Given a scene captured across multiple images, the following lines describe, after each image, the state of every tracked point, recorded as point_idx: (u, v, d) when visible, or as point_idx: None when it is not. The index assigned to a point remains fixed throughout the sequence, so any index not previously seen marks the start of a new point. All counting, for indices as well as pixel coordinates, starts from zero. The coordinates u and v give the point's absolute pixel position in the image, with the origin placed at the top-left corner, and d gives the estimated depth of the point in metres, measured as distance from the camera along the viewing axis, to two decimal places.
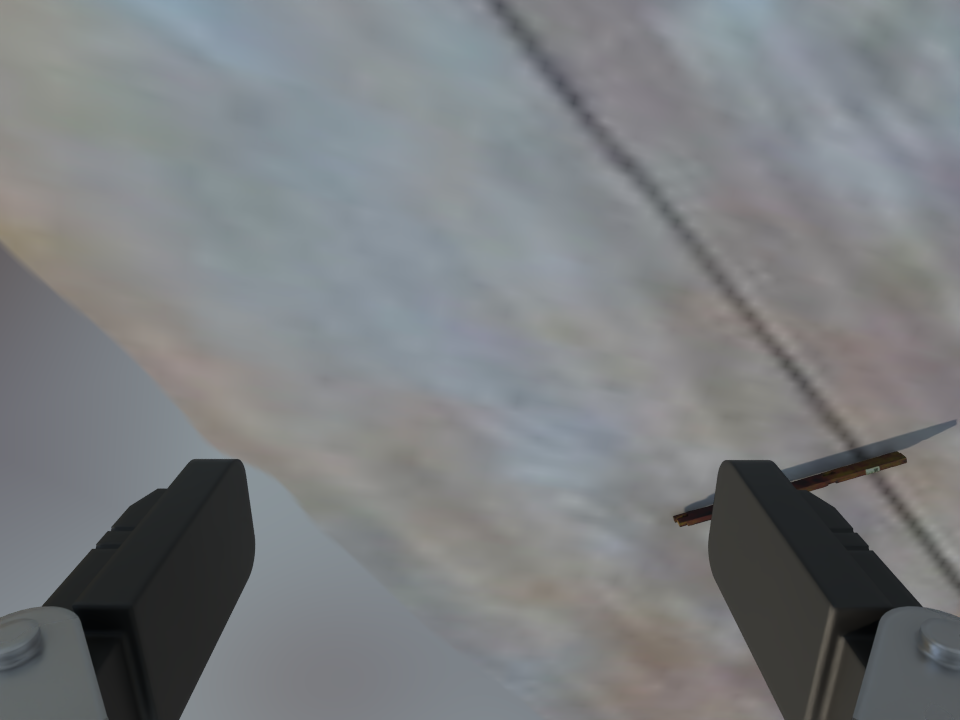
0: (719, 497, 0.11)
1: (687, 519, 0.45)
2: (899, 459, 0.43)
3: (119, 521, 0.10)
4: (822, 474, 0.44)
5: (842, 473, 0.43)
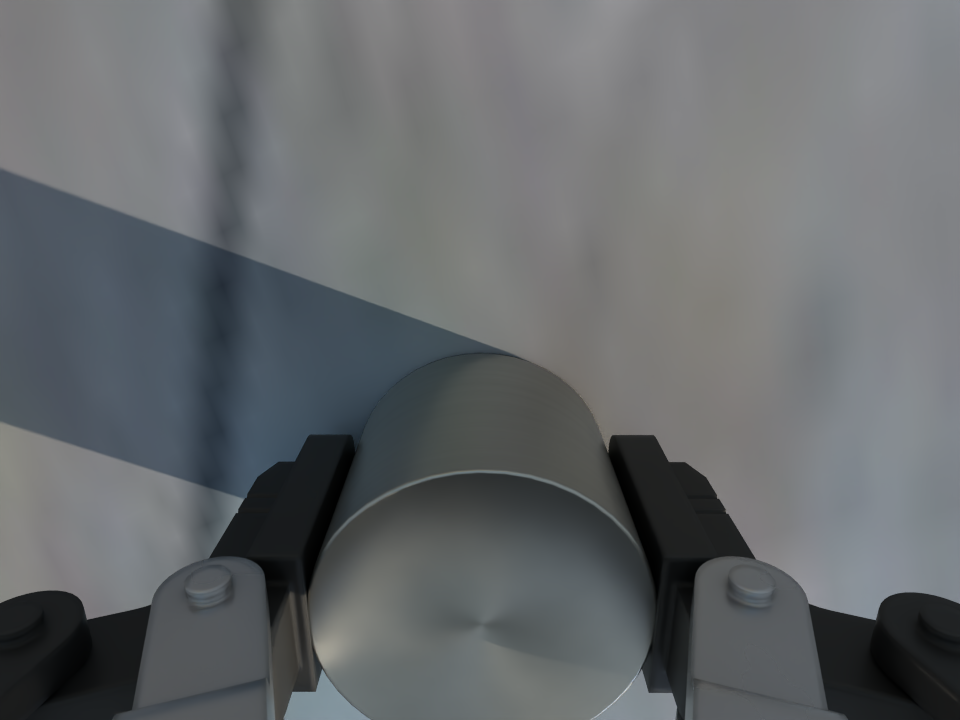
0: None
1: None
2: None
3: (253, 489, 0.10)
4: None
5: None
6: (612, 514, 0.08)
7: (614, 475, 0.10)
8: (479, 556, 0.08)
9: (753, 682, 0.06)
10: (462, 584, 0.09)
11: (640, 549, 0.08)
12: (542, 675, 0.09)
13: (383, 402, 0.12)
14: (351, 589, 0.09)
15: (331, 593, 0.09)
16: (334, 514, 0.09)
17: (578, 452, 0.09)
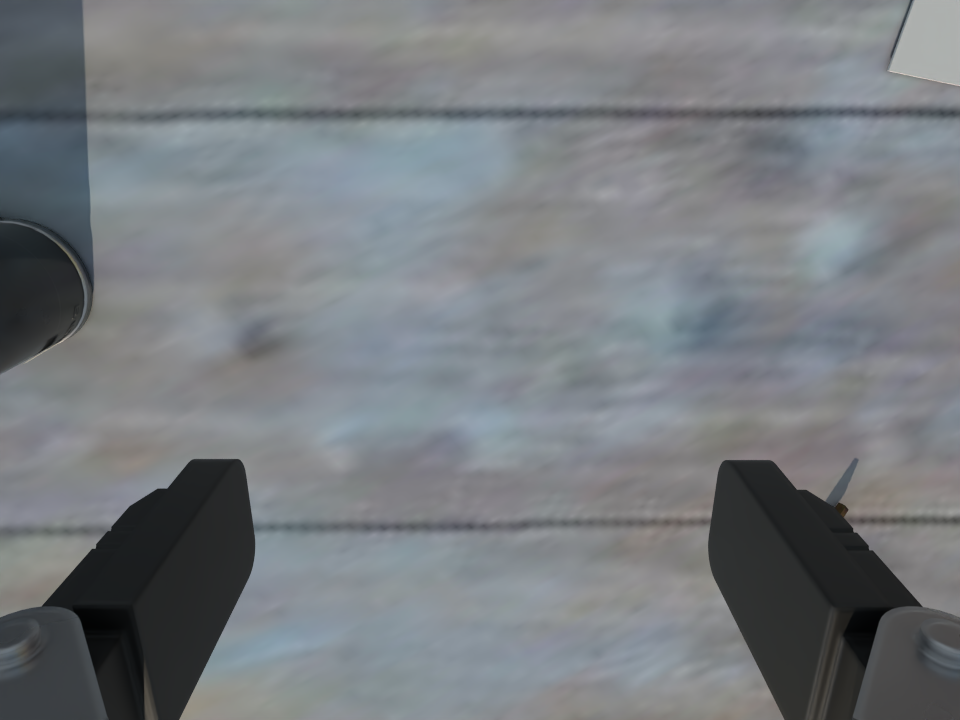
0: (719, 497, 0.11)
1: None
2: (841, 512, 0.55)
3: (119, 521, 0.10)
4: None
5: None
6: None
7: None
8: None
9: None
10: None
11: None
12: None
13: None
14: None
15: None
16: None
17: None
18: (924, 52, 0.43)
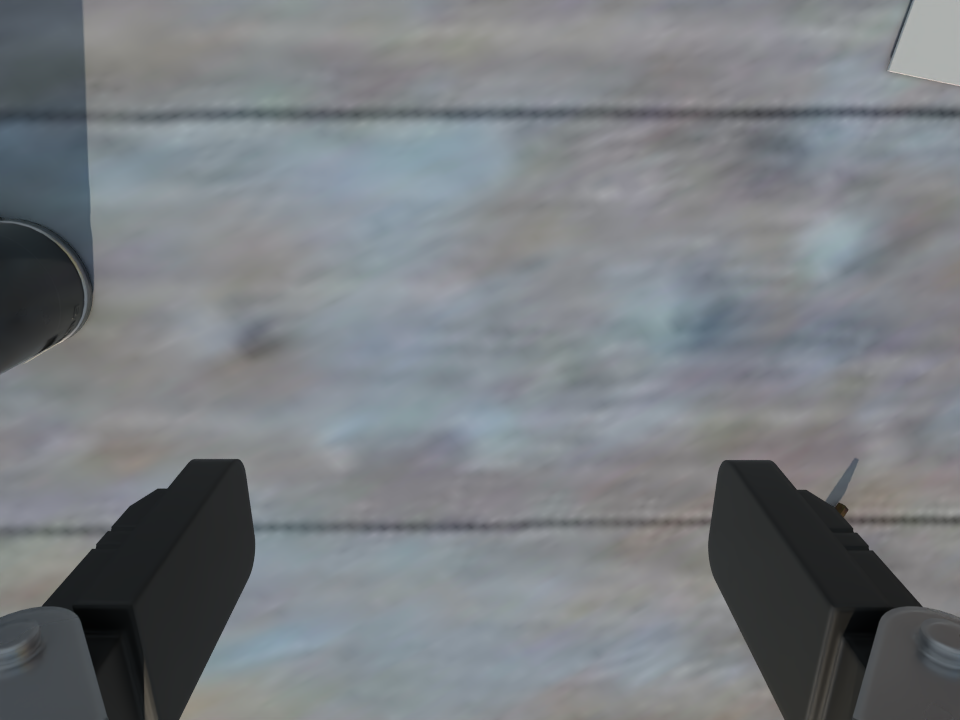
0: (719, 497, 0.11)
1: None
2: (841, 512, 0.55)
3: (119, 521, 0.10)
4: None
5: None
6: None
7: None
8: None
9: None
10: None
11: None
12: None
13: None
14: None
15: None
16: None
17: None
18: (924, 52, 0.43)
